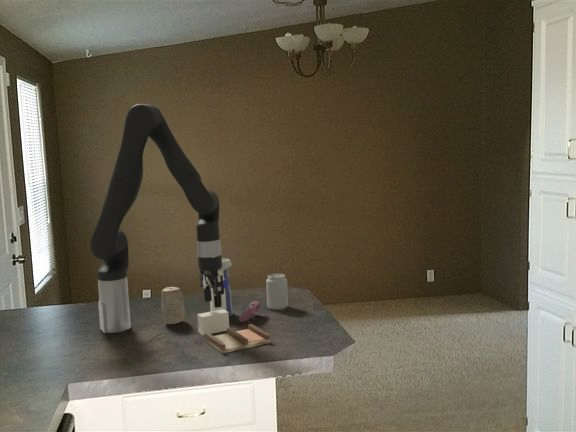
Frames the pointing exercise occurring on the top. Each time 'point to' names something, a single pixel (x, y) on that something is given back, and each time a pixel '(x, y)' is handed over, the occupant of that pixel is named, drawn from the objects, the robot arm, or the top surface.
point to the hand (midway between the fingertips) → (213, 304)
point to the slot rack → (238, 339)
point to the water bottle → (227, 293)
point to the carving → (172, 305)
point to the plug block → (213, 322)
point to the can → (277, 291)
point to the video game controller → (250, 311)
